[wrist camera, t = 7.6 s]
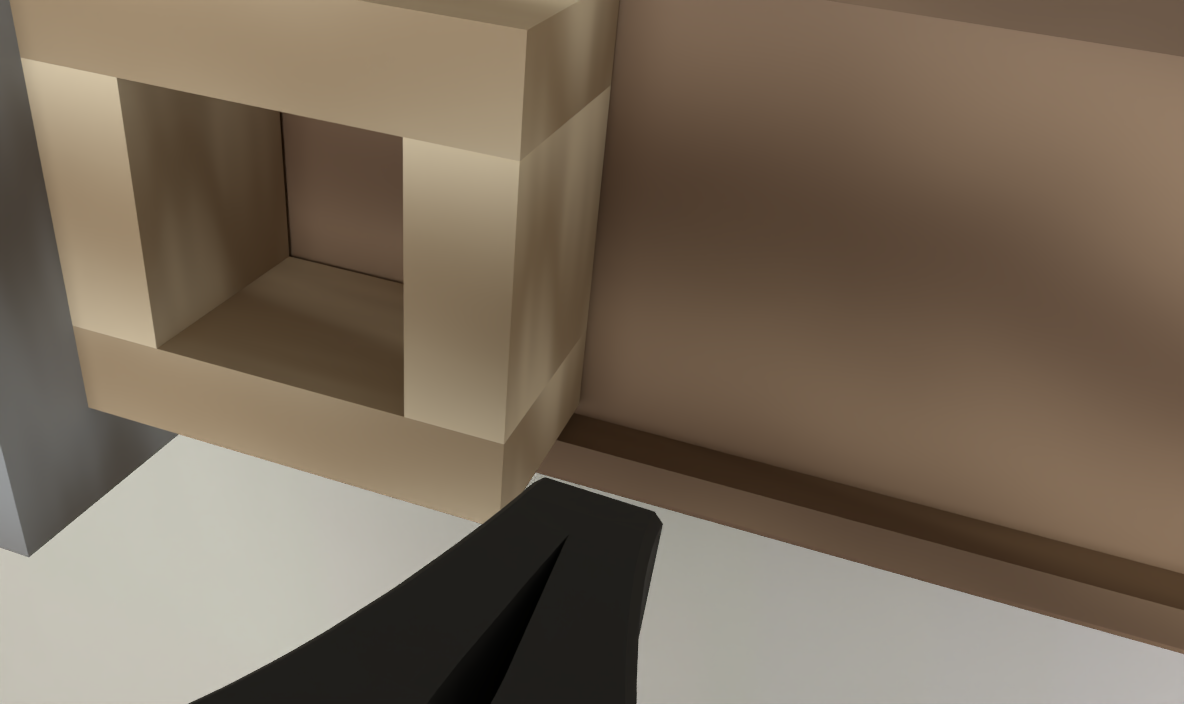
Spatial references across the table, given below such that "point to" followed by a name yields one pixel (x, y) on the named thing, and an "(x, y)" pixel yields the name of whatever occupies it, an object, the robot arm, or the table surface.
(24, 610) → the table surface
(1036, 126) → the rail board
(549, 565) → the robot arm
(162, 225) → the wooden square frame
